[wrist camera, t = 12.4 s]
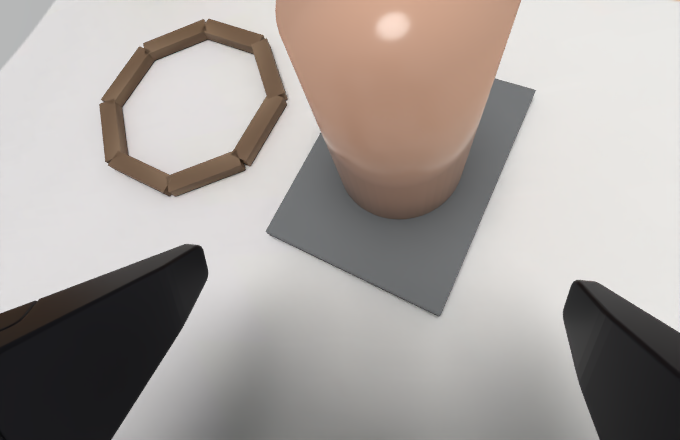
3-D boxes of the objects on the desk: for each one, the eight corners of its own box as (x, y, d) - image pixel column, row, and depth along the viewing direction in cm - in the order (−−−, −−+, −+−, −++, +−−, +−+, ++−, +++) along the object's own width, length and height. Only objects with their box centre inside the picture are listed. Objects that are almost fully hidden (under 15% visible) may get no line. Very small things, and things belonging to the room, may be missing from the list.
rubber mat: (438, 316, 16) (440, 315, 15) (269, 234, 18) (265, 231, 18) (531, 97, 18) (535, 90, 18) (371, 51, 21) (370, 43, 20)
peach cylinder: (433, 239, 16) (465, 125, 8) (319, 191, 18) (234, 52, 9) (482, 129, 18) (559, -83, 9) (370, 94, 19) (338, -113, 10)
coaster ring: (218, 220, 19) (212, 216, 19) (76, 150, 22) (67, 145, 22) (314, 57, 21) (312, 50, 21) (173, 14, 24) (168, 6, 24)
